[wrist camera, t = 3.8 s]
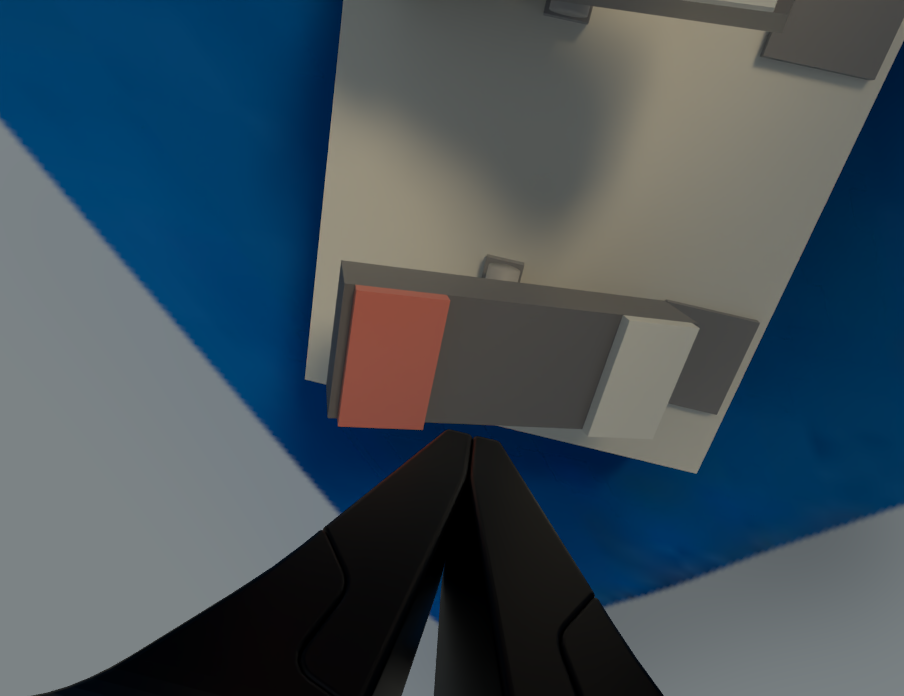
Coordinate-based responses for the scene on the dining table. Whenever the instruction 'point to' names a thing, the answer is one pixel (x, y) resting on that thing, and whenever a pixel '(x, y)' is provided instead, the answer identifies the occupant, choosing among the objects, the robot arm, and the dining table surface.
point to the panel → (598, 164)
